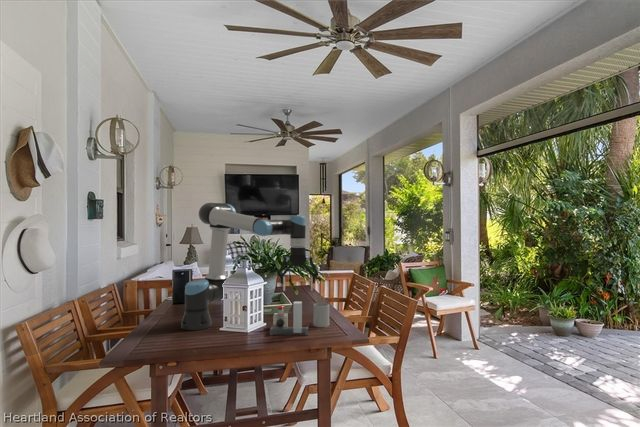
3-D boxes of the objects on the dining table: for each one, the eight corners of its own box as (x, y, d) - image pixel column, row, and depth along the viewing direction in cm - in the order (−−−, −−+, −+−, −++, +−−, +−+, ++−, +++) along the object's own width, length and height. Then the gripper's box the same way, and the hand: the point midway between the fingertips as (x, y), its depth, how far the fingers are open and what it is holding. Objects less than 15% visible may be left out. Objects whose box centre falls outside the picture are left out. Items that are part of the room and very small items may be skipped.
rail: (270, 335, 184) (270, 329, 184) (270, 332, 188) (270, 326, 188) (308, 335, 184) (308, 329, 184) (308, 332, 188) (308, 326, 189)
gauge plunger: (276, 320, 193) (276, 307, 194) (277, 318, 197) (277, 305, 197) (284, 320, 194) (284, 307, 194) (284, 318, 197) (284, 305, 197)
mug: (330, 327, 198) (330, 306, 198) (313, 327, 197) (313, 306, 197) (327, 321, 210) (328, 301, 210) (312, 321, 209) (312, 301, 209)
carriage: (293, 332, 184) (293, 303, 184) (293, 330, 188) (293, 301, 188) (301, 332, 184) (301, 303, 184) (301, 330, 188) (301, 301, 189)
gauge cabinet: (273, 330, 192) (273, 316, 192) (274, 326, 198) (274, 313, 198) (287, 330, 192) (287, 316, 192) (287, 326, 198) (287, 313, 199)
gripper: (271, 247, 183) (271, 291, 183) (323, 247, 184) (323, 291, 184) (273, 246, 191) (273, 289, 190) (322, 246, 192) (322, 288, 192)
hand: (297, 290), depth 187 cm, fingers open, 13 cm apart
